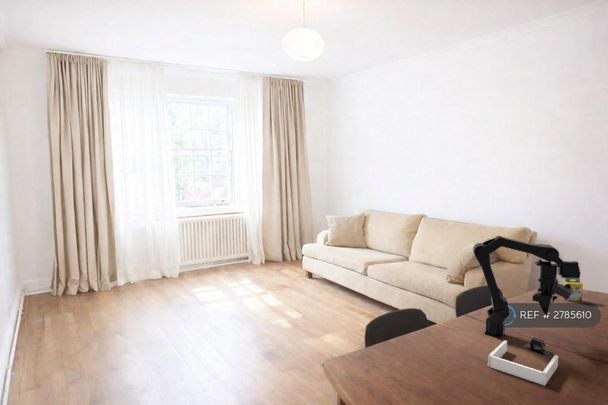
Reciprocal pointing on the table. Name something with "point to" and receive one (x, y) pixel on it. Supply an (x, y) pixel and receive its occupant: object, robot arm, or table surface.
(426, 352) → the table surface
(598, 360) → the table surface
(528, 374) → the box
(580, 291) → the crayon box
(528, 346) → the build plate
